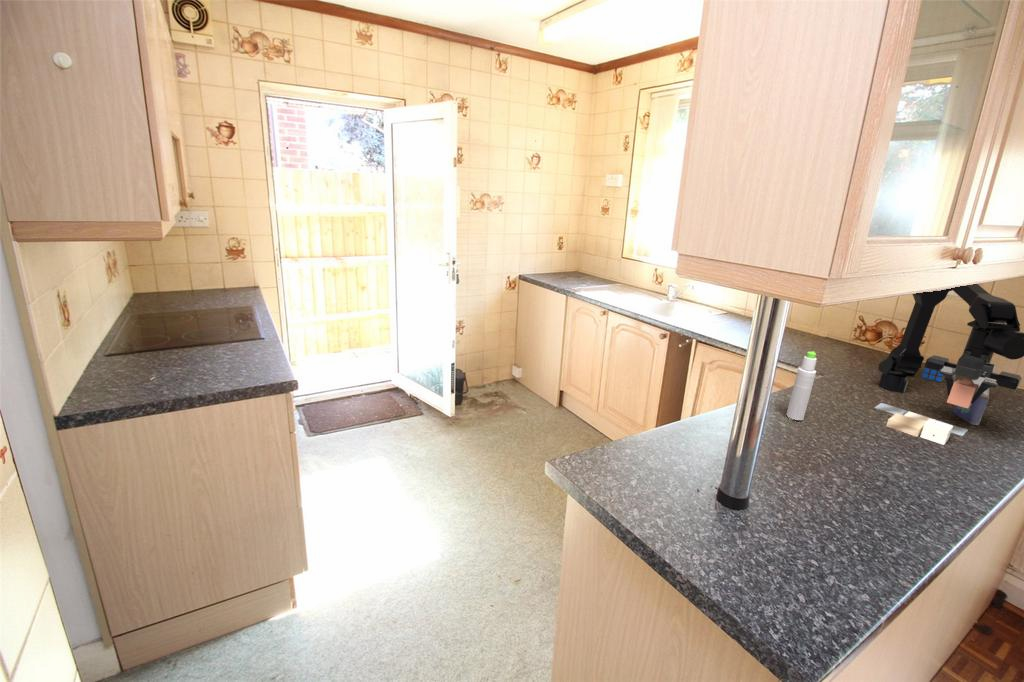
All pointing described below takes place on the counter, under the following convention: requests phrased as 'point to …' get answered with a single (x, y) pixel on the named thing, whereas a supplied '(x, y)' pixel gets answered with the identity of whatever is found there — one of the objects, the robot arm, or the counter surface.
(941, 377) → the puzzle toy
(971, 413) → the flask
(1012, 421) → the counter surface
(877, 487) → the counter surface
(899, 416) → the block
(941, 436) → the die
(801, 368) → the bottle
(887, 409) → the board
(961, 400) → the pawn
